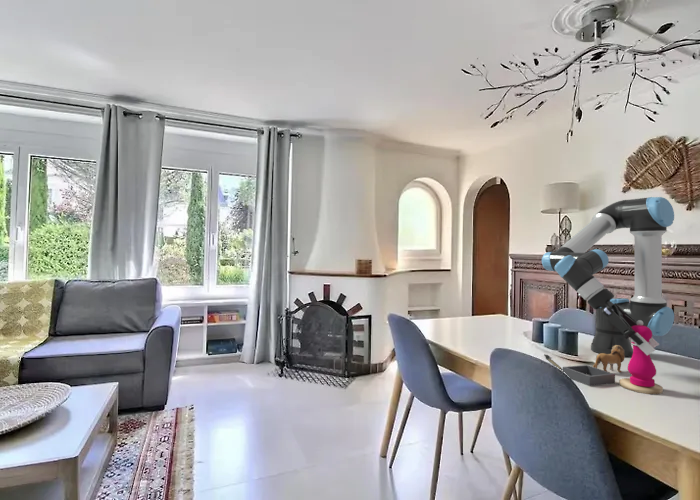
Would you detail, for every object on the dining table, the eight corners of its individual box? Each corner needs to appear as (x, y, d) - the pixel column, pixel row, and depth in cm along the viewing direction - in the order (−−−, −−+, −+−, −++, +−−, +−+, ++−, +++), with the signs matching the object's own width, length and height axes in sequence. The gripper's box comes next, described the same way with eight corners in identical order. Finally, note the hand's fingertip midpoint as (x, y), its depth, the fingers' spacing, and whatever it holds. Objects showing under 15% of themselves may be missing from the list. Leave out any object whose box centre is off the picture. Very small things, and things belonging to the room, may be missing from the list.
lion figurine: (613, 367, 146) (613, 343, 146) (628, 371, 141) (629, 346, 141) (588, 372, 139) (589, 346, 139) (603, 376, 135) (604, 350, 135)
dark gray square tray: (586, 373, 138) (586, 364, 138) (614, 383, 128) (615, 374, 128) (562, 375, 135) (562, 366, 135) (589, 386, 124) (589, 376, 124)
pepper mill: (624, 383, 124) (622, 319, 125) (633, 379, 128) (631, 318, 129) (651, 389, 118) (649, 322, 119) (660, 384, 122) (657, 320, 123)
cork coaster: (636, 380, 131) (636, 377, 131) (671, 392, 120) (671, 388, 120) (611, 383, 127) (611, 379, 127) (645, 395, 117) (645, 391, 117)
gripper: (594, 298, 142) (647, 350, 132) (578, 304, 126) (637, 363, 115) (611, 285, 139) (667, 337, 128) (597, 289, 122) (660, 349, 112)
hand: (653, 349), depth 122 cm, fingers open, 10 cm apart
